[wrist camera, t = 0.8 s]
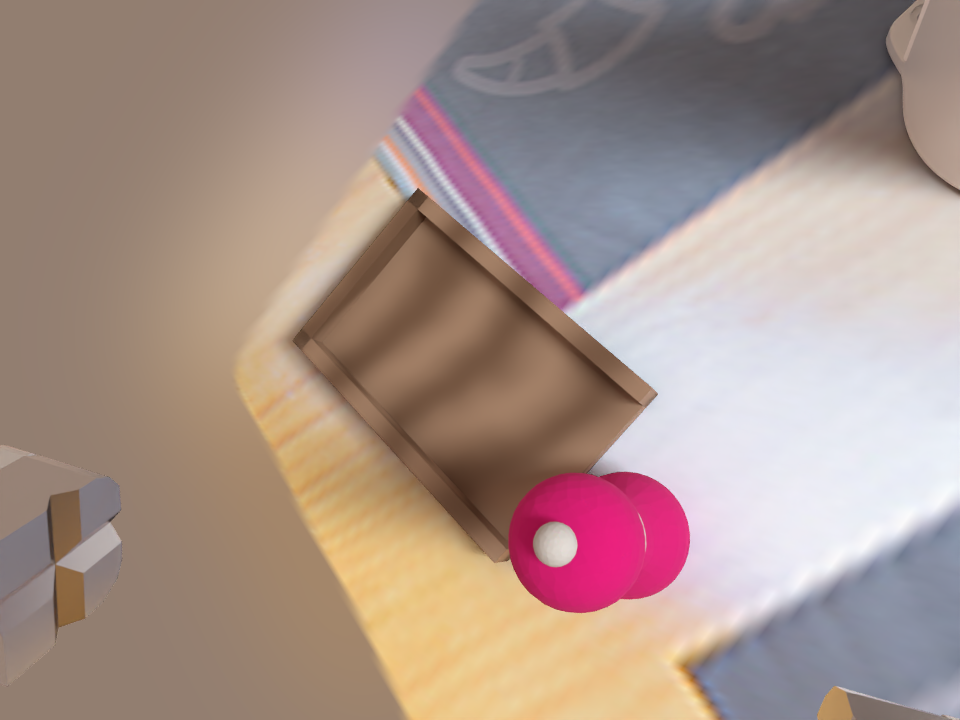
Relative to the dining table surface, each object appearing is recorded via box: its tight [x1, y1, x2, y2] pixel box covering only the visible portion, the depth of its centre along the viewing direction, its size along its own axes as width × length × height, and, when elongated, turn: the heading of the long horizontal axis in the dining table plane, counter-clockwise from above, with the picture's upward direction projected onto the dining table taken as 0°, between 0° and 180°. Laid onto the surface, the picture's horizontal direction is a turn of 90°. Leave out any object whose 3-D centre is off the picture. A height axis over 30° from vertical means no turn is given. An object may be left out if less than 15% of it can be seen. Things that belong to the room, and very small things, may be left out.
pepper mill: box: [508, 472, 690, 613], centre depth 38 cm, size 7×7×20 cm
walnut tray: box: [292, 188, 658, 563], centre depth 53 cm, size 23×15×2 cm, turn 46°
